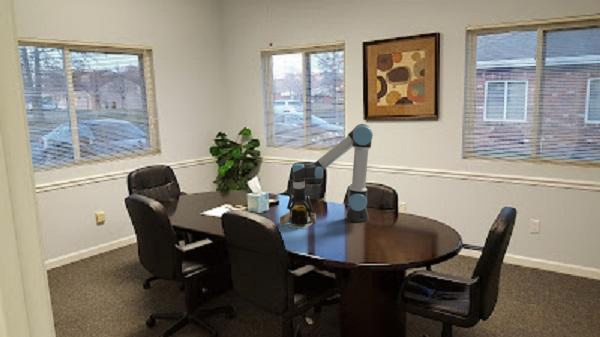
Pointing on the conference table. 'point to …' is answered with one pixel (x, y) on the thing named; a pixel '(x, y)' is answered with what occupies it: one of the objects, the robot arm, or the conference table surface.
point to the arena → (287, 218)
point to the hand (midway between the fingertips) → (300, 220)
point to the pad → (300, 225)
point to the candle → (299, 215)
